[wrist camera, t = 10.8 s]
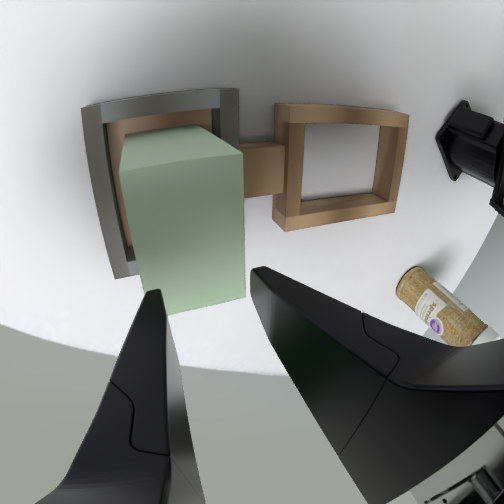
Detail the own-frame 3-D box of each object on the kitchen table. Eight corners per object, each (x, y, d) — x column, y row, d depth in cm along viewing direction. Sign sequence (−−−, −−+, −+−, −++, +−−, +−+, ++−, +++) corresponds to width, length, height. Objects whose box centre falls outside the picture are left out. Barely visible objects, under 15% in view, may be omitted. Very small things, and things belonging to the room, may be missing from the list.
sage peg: (202, 218, 19) (246, 297, 13) (139, 230, 18) (151, 318, 12) (195, 124, 16) (243, 153, 10) (125, 134, 15) (118, 171, 9)
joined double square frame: (391, 98, 20) (410, 102, 18) (376, 213, 25) (391, 223, 23) (86, 105, 13) (80, 108, 12) (115, 261, 19) (114, 279, 17)
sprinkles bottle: (392, 282, 31) (477, 363, 21) (420, 258, 31) (505, 329, 21) (396, 304, 34) (469, 378, 23) (422, 281, 34) (496, 349, 23)
